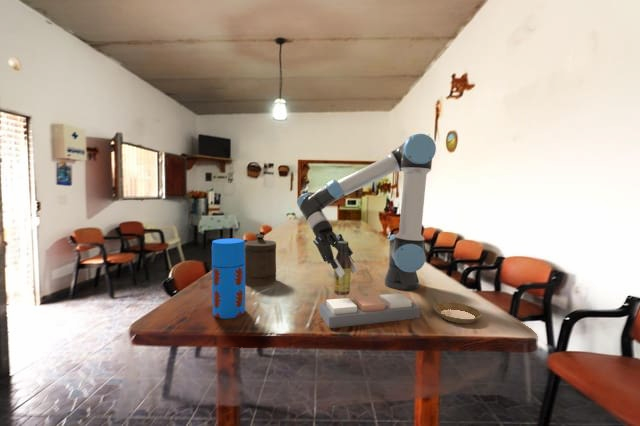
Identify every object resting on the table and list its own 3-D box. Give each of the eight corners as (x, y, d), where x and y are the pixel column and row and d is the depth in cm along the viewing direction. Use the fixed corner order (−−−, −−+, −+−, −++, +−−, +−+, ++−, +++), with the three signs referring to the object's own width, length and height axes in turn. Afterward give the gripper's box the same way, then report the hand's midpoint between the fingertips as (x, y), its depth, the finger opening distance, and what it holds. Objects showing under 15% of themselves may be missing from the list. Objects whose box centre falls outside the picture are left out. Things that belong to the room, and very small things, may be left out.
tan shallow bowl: (426, 309, 111) (426, 302, 111) (465, 308, 112) (465, 301, 112) (446, 327, 97) (446, 319, 96) (490, 326, 98) (491, 318, 98)
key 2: (399, 300, 112) (399, 293, 112) (411, 308, 104) (411, 301, 104) (379, 301, 110) (379, 295, 109) (390, 310, 102) (390, 303, 102)
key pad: (401, 304, 114) (401, 295, 114) (419, 318, 103) (420, 307, 103) (318, 313, 106) (319, 303, 106) (329, 328, 94) (329, 317, 94)
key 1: (348, 304, 106) (348, 297, 106) (356, 313, 99) (357, 306, 99) (326, 306, 104) (326, 299, 104) (333, 316, 97) (333, 308, 96)
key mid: (374, 302, 109) (374, 295, 109) (384, 310, 101) (385, 303, 101) (353, 304, 107) (353, 297, 107) (362, 313, 99) (362, 305, 99)
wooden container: (282, 279, 144) (282, 233, 143) (261, 288, 132) (261, 237, 130) (258, 275, 152) (258, 231, 150) (236, 282, 139) (236, 234, 138)
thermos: (227, 321, 98) (226, 244, 96) (205, 314, 104) (204, 241, 102) (251, 310, 107) (251, 240, 106) (230, 304, 113) (230, 237, 111)
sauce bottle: (332, 290, 118) (333, 240, 117) (348, 290, 119) (349, 240, 117) (334, 296, 112) (335, 243, 110) (351, 296, 112) (352, 242, 111)
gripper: (333, 229, 132) (361, 274, 120) (297, 233, 119) (324, 284, 108) (341, 218, 127) (371, 263, 116) (305, 221, 115) (335, 272, 104)
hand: (349, 273), depth 112 cm, fingers closed on sauce bottle, 6 cm apart
